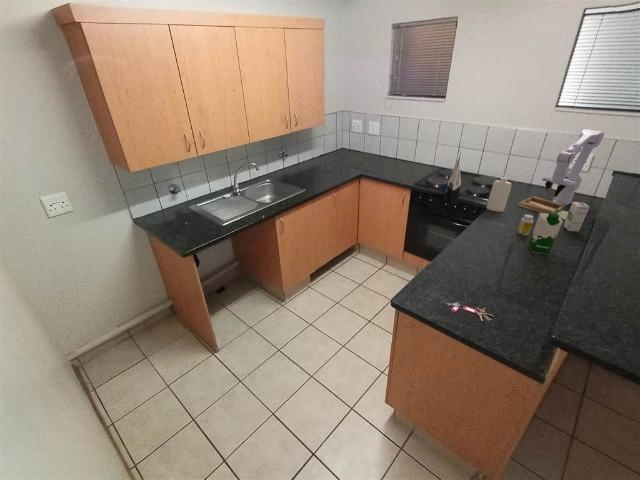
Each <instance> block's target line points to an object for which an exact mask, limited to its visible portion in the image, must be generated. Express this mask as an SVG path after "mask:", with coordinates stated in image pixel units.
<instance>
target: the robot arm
mask: <svg viewBox="0 0 640 480" xmlns="http://www.w3.org/2000/svg"><path fill="white" fill-rule="evenodd" d="M604 135H605V133H604V131H601V130H594V129H588V128H584V129H582V131H581V132H580V133H579V136H578V140H577V141H576V142H575V143H573V144H571V145H569V146H568V147H567V149H566V150H563V151H560V152H559V153H558V155H557V159H556V162H555V164H556V166H555V169H554V171H553V174H552V177H546V176H543V177H542V180H541V181H542V182H545V183H544V185H545V192H546V191H547V189H548V188H551V187H553V185H554V184H555V185H557V187H556V188H557V191H556V193H555V196H554V197H557V198H556V199H554V200H551V202H554V203H558V204H561V205H564V206H569V205H570V204H572V203H573V201H572V199H573V197H574V195H575V191H577V190H578V189H579V188H580V187H581V183H582V180H583V179H582V177H581V176H580V173H581V171H582V170H583V168H584V166H585V164H586V162H587V160H588V158H589V157H590V155H591V153H592V152H593V149H594V148H597V147H599V146H600V144H601V143H602V141H603V138H604ZM577 155H578V156H577ZM576 156H577V157H576ZM575 159H576V160H575ZM574 160H575V162H574V164H573V165H572V167H571V169H570V171H569V172H568V170H569V168H570V165H571V163H573V161H574Z"/></svg>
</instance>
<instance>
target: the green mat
mask: <svg viewBox="0 0 640 480" xmlns="http://www.w3.org/2000/svg"><path fill="white" fill-rule="evenodd" d="M568 213H569V211H566V210H564V209H563V210H561V211H559V212H557V213H555V214H558V215H559V217H560V218H561V220H564V221H565V220H566V217H567V215H568Z"/></svg>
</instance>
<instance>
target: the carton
mask: <svg viewBox="0 0 640 480" xmlns="http://www.w3.org/2000/svg"><path fill="white" fill-rule="evenodd" d="M518 207H521V208H524V209H527V210H529V211H533V212H535V213H539V214H540V213H545V214H549V213H554V214H556V213H558V212H560V211H562V210H563V211H564V208H565V205H562V204H559V203H555V202H552V200H551V201H550V200H547V199H544V198H540V197H538V196H531V197H529V198H526V199H524V200H522V201H520V202H519V203H518Z"/></svg>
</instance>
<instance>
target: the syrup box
mask: <svg viewBox="0 0 640 480" xmlns="http://www.w3.org/2000/svg"><path fill="white" fill-rule="evenodd" d="M589 209H590V206H589V205H588V204H586V203H585V202H581V201H572V203H571V205H570V208H569V210H568V212H569V213H568V215H567V217H566V220H564V221H563V224H562V225H563V227H564V228H565V230H567V231H569V232H580V230H581V228H582V225H583V224H584V223H583V222H584V221H585V218H586V216H587V214H588V211H589Z"/></svg>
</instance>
